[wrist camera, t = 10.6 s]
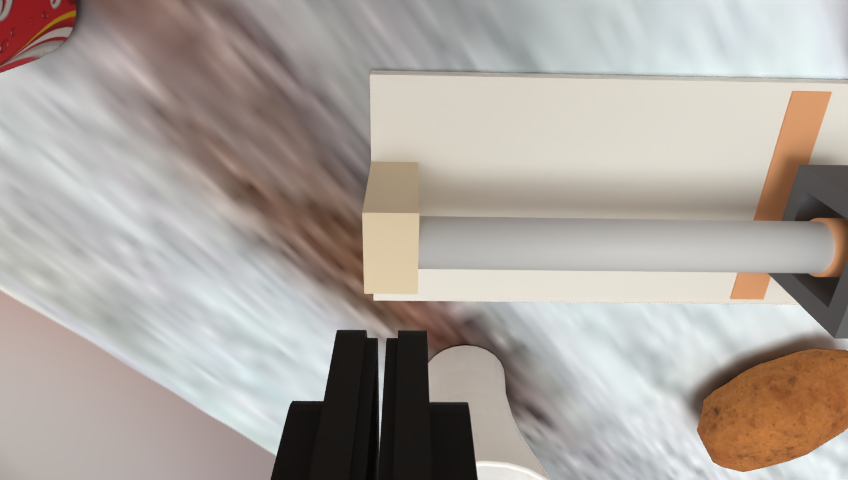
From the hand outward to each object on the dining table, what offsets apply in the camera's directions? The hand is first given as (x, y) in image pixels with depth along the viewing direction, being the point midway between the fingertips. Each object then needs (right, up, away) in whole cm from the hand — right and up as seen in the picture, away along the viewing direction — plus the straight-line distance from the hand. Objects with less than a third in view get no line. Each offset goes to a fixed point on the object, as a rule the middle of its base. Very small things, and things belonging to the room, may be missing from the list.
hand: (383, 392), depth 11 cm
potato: (+28, -8, +38) cm, 48 cm away
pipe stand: (+15, +6, +30) cm, 34 cm away
